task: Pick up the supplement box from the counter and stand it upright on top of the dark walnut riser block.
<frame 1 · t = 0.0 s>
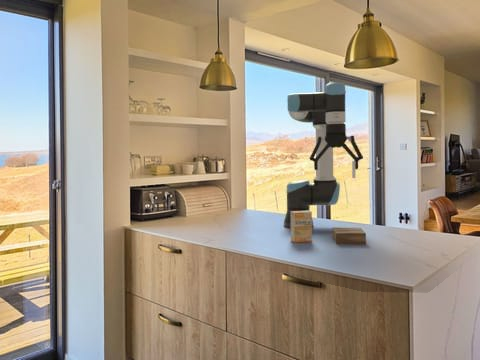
hand: (336, 178, 158), 28 cm above the counter, fingers open, 13 cm apart
walnut riser: (348, 241, 173), on the counter
supplement box: (301, 241, 175), on the counter
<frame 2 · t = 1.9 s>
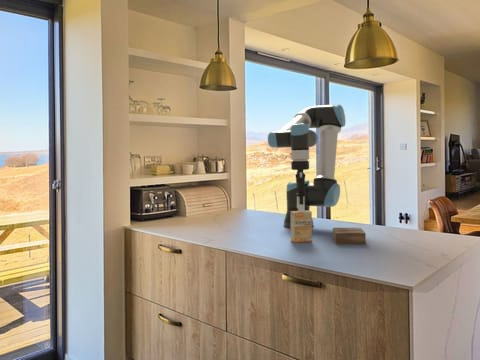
hand: (300, 210, 174), 14 cm above the counter, fingers open, 13 cm apart
nothing on the counter moved.
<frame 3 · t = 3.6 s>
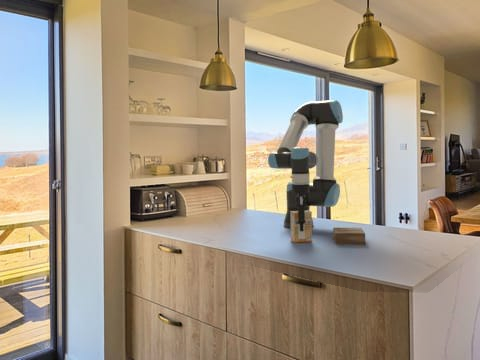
hand: (301, 236, 175), 2 cm above the counter, fingers closed on supplement box, 6 cm apart
supplement box: (301, 241, 175), on the counter, touching gripper
everything else where it was.
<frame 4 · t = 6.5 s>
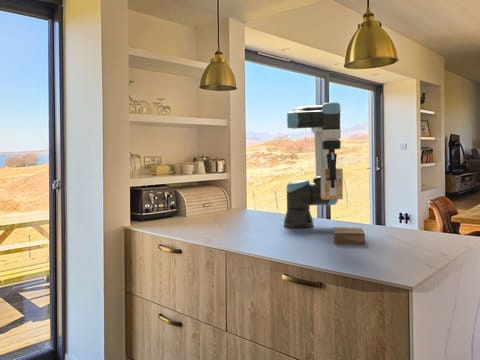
hand: (331, 194, 172), 20 cm above the counter, fingers closed on supplement box, 6 cm apart
supplement box: (331, 199, 172), point 18 cm above the counter, touching gripper
everything else where it was.
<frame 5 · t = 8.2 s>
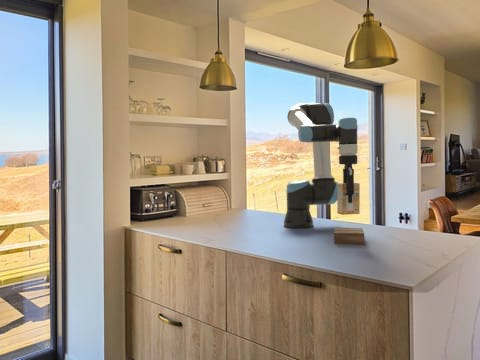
hand: (348, 209, 172), 14 cm above the counter, fingers closed on supplement box, 6 cm apart
supplement box: (348, 214, 172), point 12 cm above the counter, touching gripper
everything else where it was.
when the fingers open (8 cm above the counter, at t = 9.5 s): supplement box drops 2 cm, resting on walnut riser.
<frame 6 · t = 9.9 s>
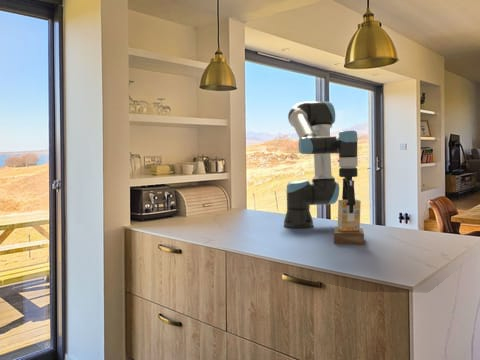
hand: (348, 218, 172), 10 cm above the counter, fingers open, 12 cm apart
walnut riser: (348, 242, 173), on the counter, touching supplement box
supplement box: (348, 230, 172), point 4 cm above the counter, touching walnut riser
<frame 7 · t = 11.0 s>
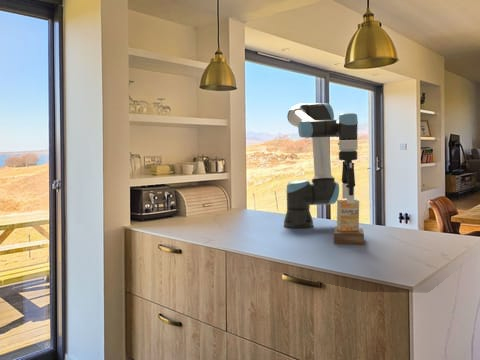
hand: (348, 200, 172), 17 cm above the counter, fingers open, 13 cm apart
nothing on the counter moved.
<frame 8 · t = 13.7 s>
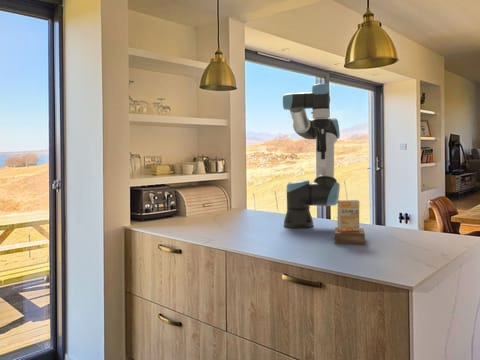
hand: (321, 166, 183), 32 cm above the counter, fingers open, 13 cm apart
walnut riser: (349, 242, 173), on the counter
supplement box: (348, 231, 172), point 4 cm above the counter
at the end: supplement box inside the target area on the walnut riser (0.8 cm from its centre), point 4.9 cm above the walnut riser's base; supplement box tilted 1°; the gripper is holding nothing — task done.
